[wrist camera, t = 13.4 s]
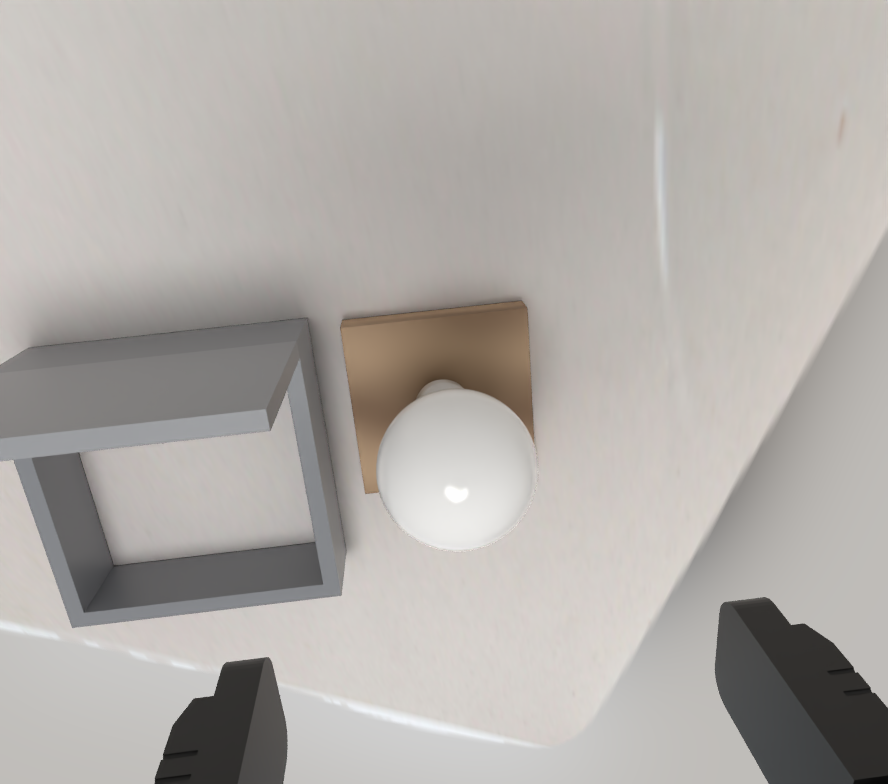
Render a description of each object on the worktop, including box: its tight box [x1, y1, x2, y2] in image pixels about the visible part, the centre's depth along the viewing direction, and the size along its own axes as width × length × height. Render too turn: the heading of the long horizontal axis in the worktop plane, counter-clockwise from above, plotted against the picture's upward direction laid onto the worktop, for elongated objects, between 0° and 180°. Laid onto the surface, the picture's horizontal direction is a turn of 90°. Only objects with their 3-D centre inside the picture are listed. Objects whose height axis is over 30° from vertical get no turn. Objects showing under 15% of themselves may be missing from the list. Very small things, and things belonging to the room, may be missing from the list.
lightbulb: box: [376, 379, 538, 552], centre depth 30 cm, size 6×6×11 cm
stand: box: [340, 301, 534, 494], centre depth 36 cm, size 9×9×2 cm
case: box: [0, 318, 346, 628], centre depth 31 cm, size 14×14×12 cm
